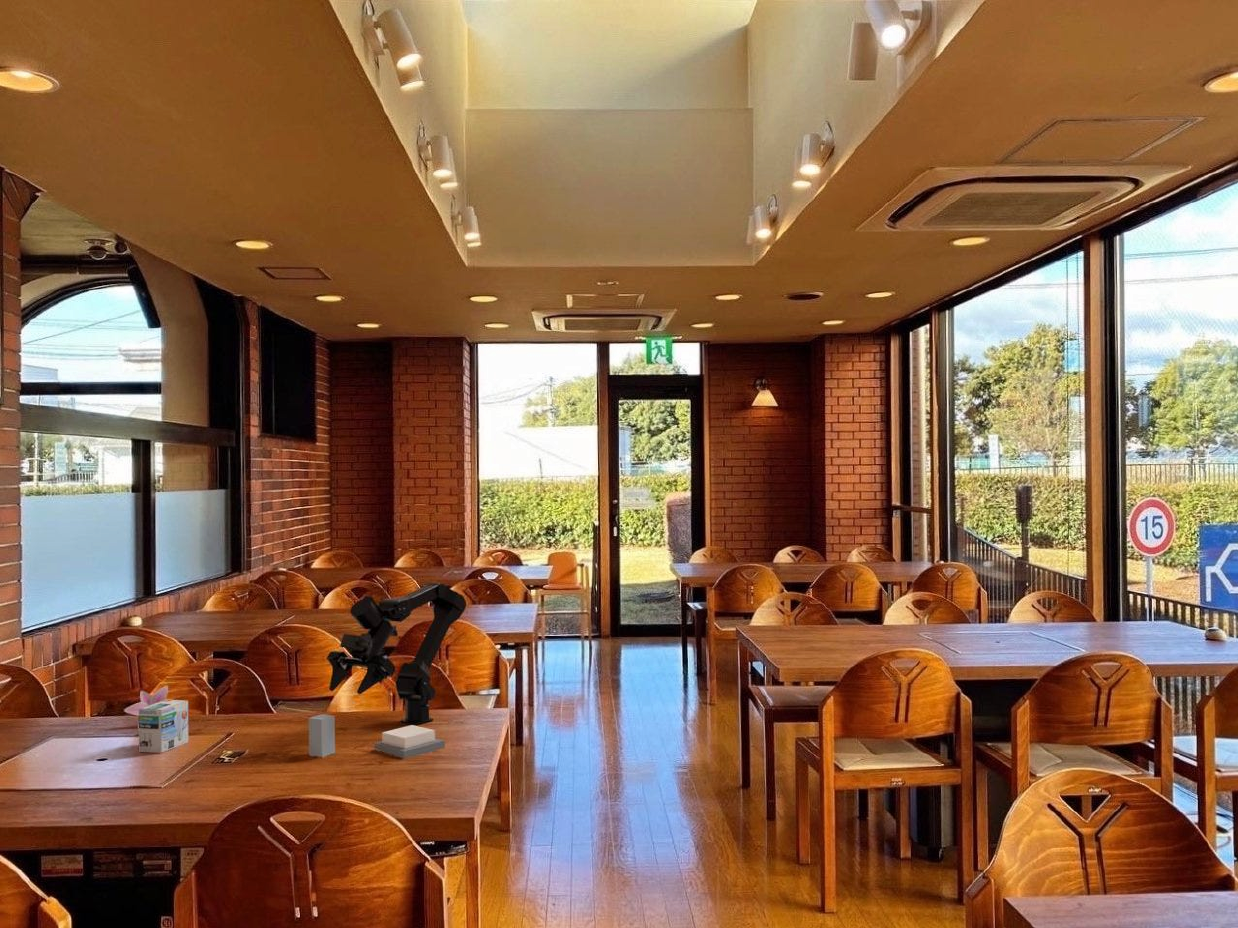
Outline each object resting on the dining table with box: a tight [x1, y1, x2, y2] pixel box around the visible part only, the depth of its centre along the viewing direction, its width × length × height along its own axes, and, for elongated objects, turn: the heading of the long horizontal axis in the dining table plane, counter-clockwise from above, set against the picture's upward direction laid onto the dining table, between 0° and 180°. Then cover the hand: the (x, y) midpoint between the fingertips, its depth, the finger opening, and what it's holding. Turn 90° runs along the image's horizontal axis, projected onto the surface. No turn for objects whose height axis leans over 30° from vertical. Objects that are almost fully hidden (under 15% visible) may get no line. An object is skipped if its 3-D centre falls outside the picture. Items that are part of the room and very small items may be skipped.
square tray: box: [374, 737, 446, 760], centre depth 233 cm, size 12×12×2 cm
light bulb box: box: [138, 699, 189, 754], centre depth 239 cm, size 11×7×11 cm, turn 168°
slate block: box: [308, 713, 336, 758], centre depth 230 cm, size 4×4×9 cm
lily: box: [123, 685, 169, 730], centre depth 263 cm, size 12×12×10 cm
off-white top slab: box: [381, 724, 436, 749], centre depth 233 cm, size 9×9×2 cm
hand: (344, 691), depth 237 cm, fingers open, 9 cm apart
